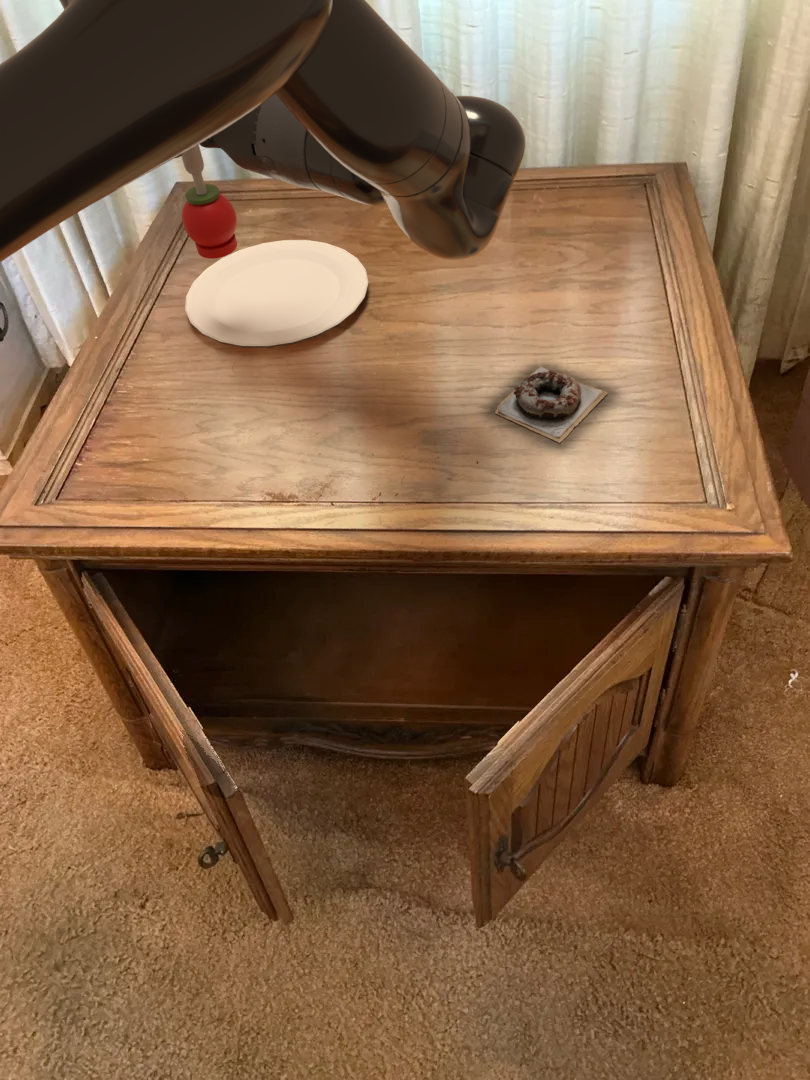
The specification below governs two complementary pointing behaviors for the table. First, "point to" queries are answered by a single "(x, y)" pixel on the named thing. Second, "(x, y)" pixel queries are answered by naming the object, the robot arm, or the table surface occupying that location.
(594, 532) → the table surface
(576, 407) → the donut
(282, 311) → the plate
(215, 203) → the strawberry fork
